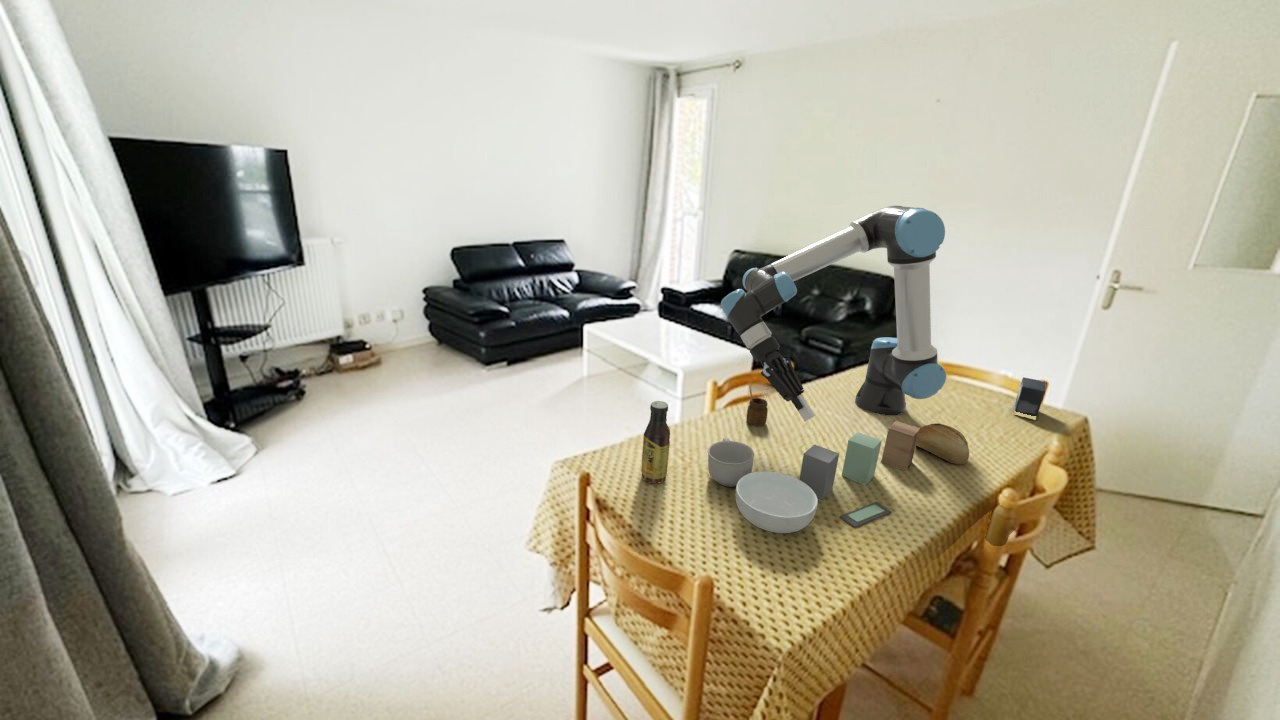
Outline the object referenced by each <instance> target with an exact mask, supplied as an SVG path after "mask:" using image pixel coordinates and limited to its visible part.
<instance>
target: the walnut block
mask: <svg viewBox="0 0 1280 720" xmlns="http://www.w3.org/2000/svg"><path fill="white" fill-rule="evenodd" d="M919 431H920V427H917V426H915V425H914V426H913V425H911V424H907V423H905V422H900V421H898V420H895V421H894V422H893V423H892V424H891V425H890V426H889V427H888V430H887V434H886V438H885V443H884V448H883V450H882V451H883V452H882V455H881V456H882V457H881V460H880V463H882V464H885V465H888V466H891V467H892V468H893V467H894V468H896V469H899V470H902V471H906V470H907V469H908V468H909V467H910V465H911V464H912V462H913V458H914V456H915V455H914V454H915V450H916V448H917V445H916V443H917V439H918V435H919Z"/></svg>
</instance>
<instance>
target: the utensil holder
mask: <svg viewBox="0 0 1280 720" xmlns="http://www.w3.org/2000/svg"><path fill="white" fill-rule="evenodd" d="M748 386H749V388H748V389H749V395H750V400H749V403H748V406H747V409H746V419H745V421H746V423H747V422H748V423H749V425H750V424H751V425H750V426H753V427H762V426H765V425H766V423H767V421H768V400H767V398H768V399H769V398H770V395H771V393H770V392H771V391H770V389H768V388H765V389H763V391H762V392H761V394H762V395H761V397H753V394H752V393H753V392H752V388H751V387H752V386H751V384H748ZM766 391H767V393H768V395H769V396H768V395H766V397H765V394H766Z"/></svg>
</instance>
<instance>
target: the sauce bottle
mask: <svg viewBox="0 0 1280 720" xmlns="http://www.w3.org/2000/svg"><path fill="white" fill-rule="evenodd" d="M649 409H650V417H649V421H648V424H647V426H646V429H644V432H643V437H642V438H643V439H642V440H643V441H642V454H641V455H642V456H641V467H640V471H641V478H642V480H643V481H645V482H647V483H648V484H660V483H663V482H664V481H665V480H666V479H667V474H668V464H669V463H668V462H669V456H670V455H669V453H670V452H669V451H670V444H671V443H670V436H671V430H670V426H668V423H667V416H668V415H667V414H668V412H669V404H668V403H667V402H666V401H662V400H654V401H652V402H651V404H650V407H649Z"/></svg>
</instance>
